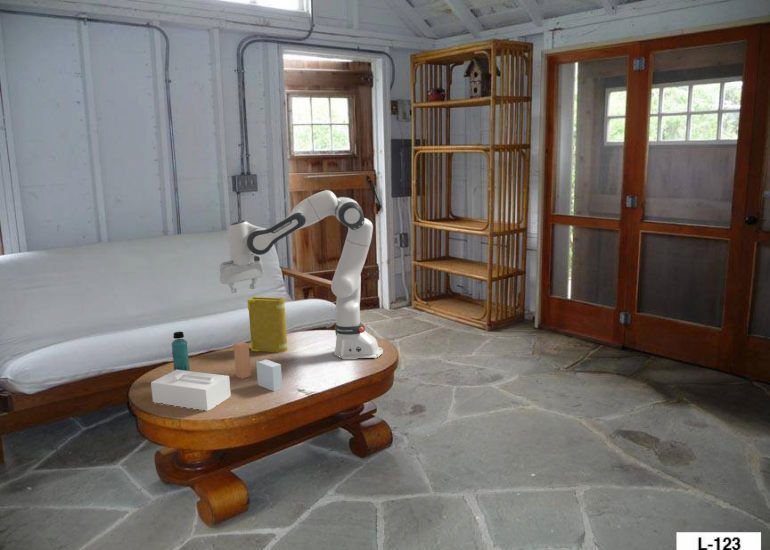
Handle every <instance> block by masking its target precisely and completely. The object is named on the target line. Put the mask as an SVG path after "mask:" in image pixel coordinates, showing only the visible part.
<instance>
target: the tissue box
mask: <svg viewBox="0 0 770 550" xmlns="http://www.w3.org/2000/svg"><path fill="white" fill-rule="evenodd" d="M230 381H231V380H230V376H229V375H222V374H215V373H208V372H202V371H201V372H199V371H191V370H190V371H184V370H174V369H173V371H171V372H169V373H166V374H165V375H163V376H161V377H159V378H157V379H154V380H153V381H151V382H150V388H151V397H152V403H153V402H157V403H163V404H169V405H174V406H173V407H176V406H181V407H180V408H183V407H186V408H185V409H190V408H193V409H192V410H196V409H199V410H198V411H203V410H205V412H209V411H211V410H212V409H214V408H215V407H216V405H217V406H218V405H219V404H220V405H221V403H222V402H224V401H226V400H227V399H229V398H230V396H231V397H232V395H231V383H230ZM163 404H162V405H163ZM169 405H168V406H169ZM208 410H209V411H208Z"/></svg>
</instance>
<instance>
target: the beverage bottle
mask: <svg viewBox="0 0 770 550" xmlns="http://www.w3.org/2000/svg"><path fill="white" fill-rule="evenodd" d="M172 337H173V339H174V340H173V341H172V342H171V350H172V351H171V352H172V353H171V355H172V363H173V371H174V370H184V371H191V369H190V359H189V350H188V348H189V347H188V341H187V340H186V339H184V337H185V335H184V332H183V331H175V332H174V333H173V336H172Z"/></svg>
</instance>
